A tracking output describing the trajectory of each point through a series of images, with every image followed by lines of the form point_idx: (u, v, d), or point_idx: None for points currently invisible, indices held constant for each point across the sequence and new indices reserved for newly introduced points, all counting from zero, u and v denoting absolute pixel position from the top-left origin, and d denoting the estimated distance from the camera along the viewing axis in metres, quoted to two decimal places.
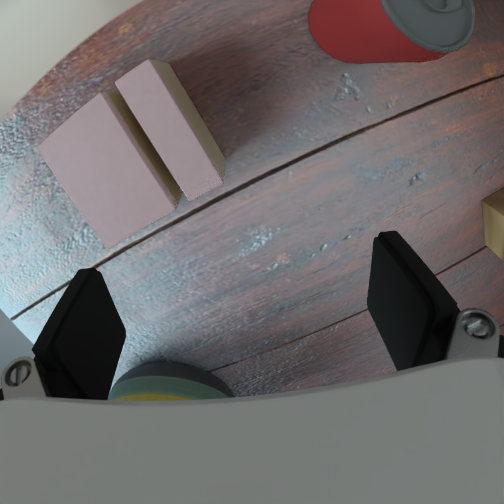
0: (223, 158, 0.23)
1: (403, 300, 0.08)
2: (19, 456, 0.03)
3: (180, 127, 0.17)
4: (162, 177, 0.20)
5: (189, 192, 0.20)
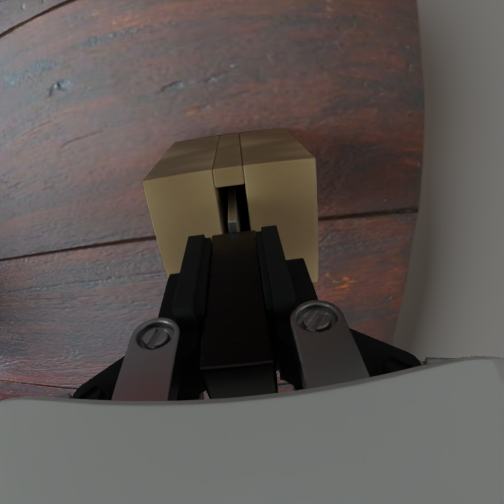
0: None
1: None
2: (19, 456, 0.03)
3: None
4: None
5: None
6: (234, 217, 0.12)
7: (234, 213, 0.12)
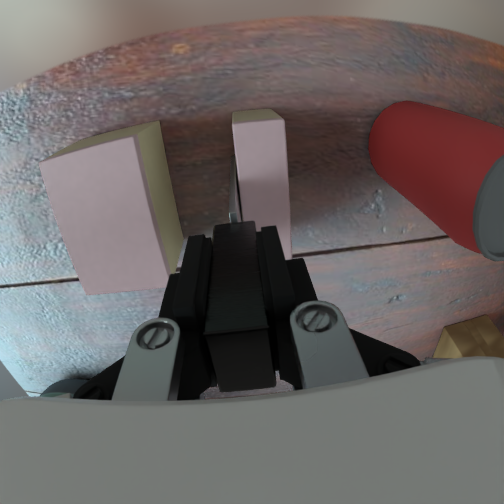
0: None
1: None
2: (19, 456, 0.03)
3: (280, 209, 0.17)
4: (166, 246, 0.19)
5: None
6: (234, 209, 0.13)
7: (234, 205, 0.13)
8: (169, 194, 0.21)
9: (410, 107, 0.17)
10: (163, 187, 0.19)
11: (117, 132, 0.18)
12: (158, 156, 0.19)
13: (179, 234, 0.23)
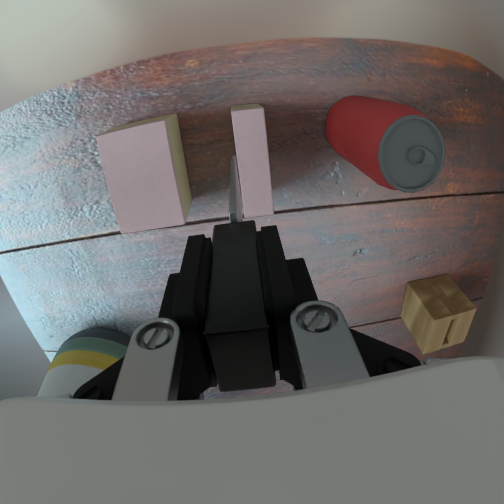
0: None
1: None
2: (19, 456, 0.03)
3: (263, 166, 0.25)
4: (182, 196, 0.27)
5: (248, 211, 0.27)
6: (234, 209, 0.13)
7: (234, 205, 0.13)
8: (183, 164, 0.29)
9: (351, 99, 0.25)
10: (180, 158, 0.28)
11: (148, 120, 0.26)
12: (177, 136, 0.27)
13: (189, 194, 0.31)
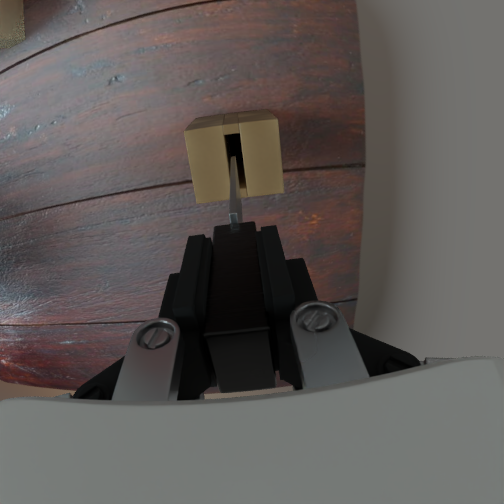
0: (20, 36, 0.21)
1: None
2: (19, 456, 0.03)
3: None
4: None
5: None
6: (235, 210, 0.13)
7: (235, 206, 0.13)
8: None
9: None
10: None
11: None
12: None
13: None
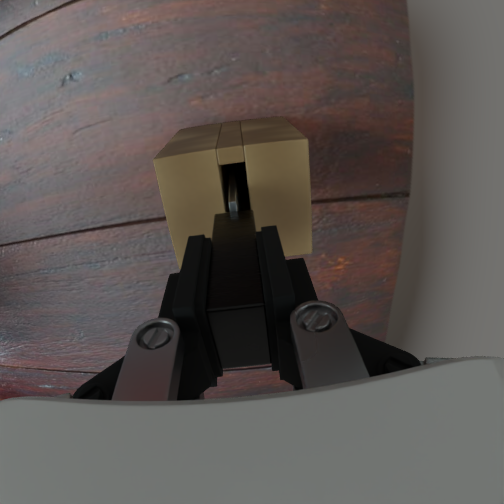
0: None
1: None
2: (19, 456, 0.03)
3: None
4: None
5: None
6: (234, 198, 0.13)
7: (234, 195, 0.13)
8: None
9: None
10: None
11: None
12: None
13: None
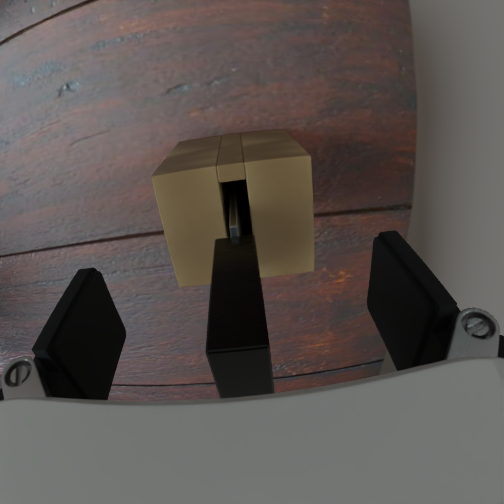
0: None
1: (403, 300, 0.08)
2: (19, 456, 0.03)
3: None
4: None
5: None
6: (235, 223, 0.13)
7: (235, 219, 0.13)
8: None
9: None
10: None
11: None
12: None
13: None
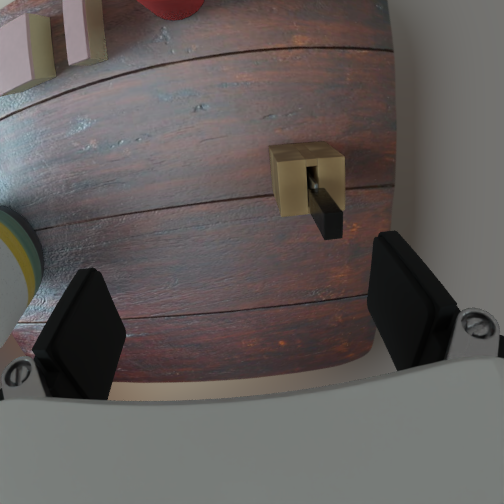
0: (105, 56, 0.30)
1: (403, 300, 0.08)
2: (19, 456, 0.03)
3: (79, 24, 0.23)
4: (35, 63, 0.25)
5: (70, 59, 0.25)
6: (316, 183, 0.30)
7: (315, 181, 0.31)
8: (48, 48, 0.27)
9: None
10: (43, 42, 0.26)
11: None
12: (43, 29, 0.25)
13: (51, 70, 0.29)
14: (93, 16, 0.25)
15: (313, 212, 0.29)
